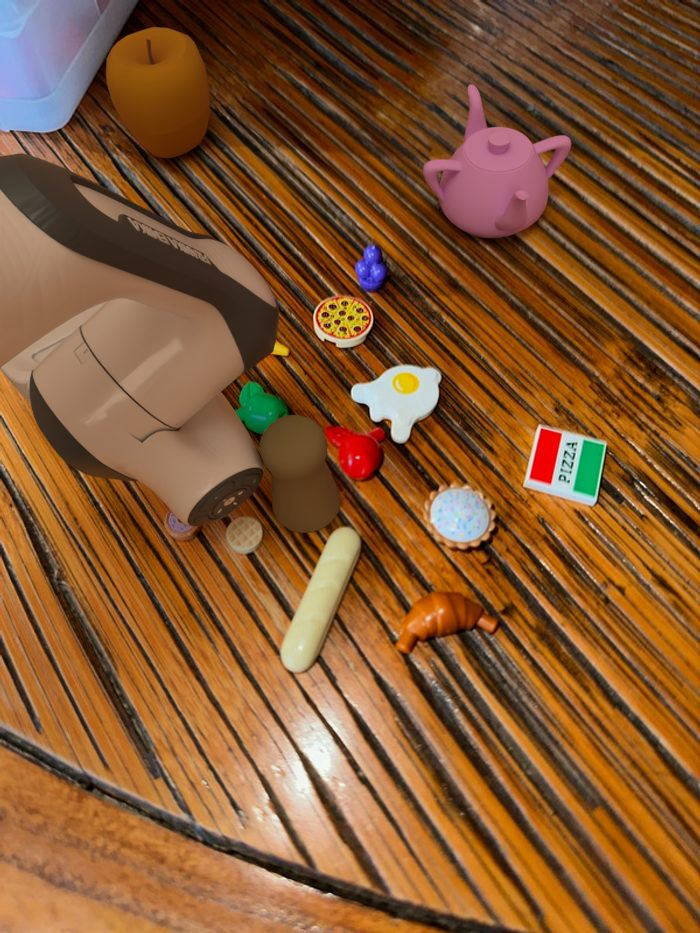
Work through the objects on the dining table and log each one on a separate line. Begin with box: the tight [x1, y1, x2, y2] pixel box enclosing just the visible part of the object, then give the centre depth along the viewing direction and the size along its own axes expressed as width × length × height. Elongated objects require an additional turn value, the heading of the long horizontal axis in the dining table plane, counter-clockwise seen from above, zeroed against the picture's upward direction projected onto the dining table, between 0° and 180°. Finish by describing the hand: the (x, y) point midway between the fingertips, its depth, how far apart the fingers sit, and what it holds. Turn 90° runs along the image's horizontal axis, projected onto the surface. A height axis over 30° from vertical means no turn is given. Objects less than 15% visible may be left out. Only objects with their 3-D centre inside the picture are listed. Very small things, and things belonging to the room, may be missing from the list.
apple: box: [105, 26, 211, 159], centre depth 85 cm, size 11×11×13 cm
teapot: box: [422, 84, 572, 239], centre depth 78 cm, size 12×14×9 cm
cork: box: [259, 414, 341, 534], centre depth 62 cm, size 6×6×11 cm
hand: (75, 270), depth 71 cm, fingers closed on supplement box, 4 cm apart
